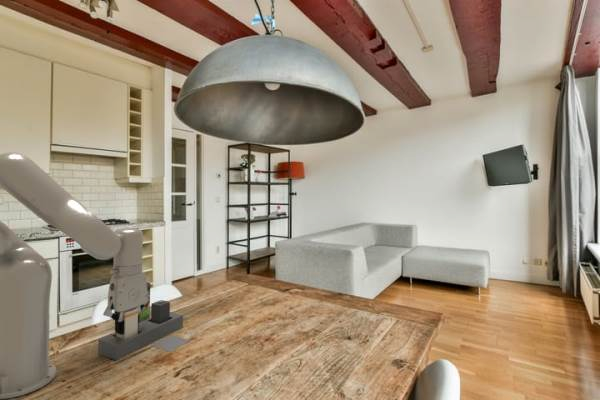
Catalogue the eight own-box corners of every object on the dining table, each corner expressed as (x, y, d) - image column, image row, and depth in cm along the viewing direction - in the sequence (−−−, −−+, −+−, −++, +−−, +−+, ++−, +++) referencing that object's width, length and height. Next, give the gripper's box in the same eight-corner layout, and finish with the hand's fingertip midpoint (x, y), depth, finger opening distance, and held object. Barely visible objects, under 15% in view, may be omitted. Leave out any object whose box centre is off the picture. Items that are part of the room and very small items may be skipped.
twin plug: (159, 329, 99) (160, 303, 99) (151, 327, 101) (151, 301, 101) (169, 325, 103) (169, 300, 103) (160, 322, 104) (161, 298, 104)
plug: (125, 340, 88) (125, 310, 88) (115, 336, 90) (116, 308, 90) (137, 334, 92) (138, 306, 92) (128, 331, 93) (129, 303, 93)
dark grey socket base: (116, 361, 84) (116, 345, 84) (98, 354, 87) (98, 339, 87) (182, 327, 106) (182, 315, 106) (166, 323, 109) (166, 311, 109)
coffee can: (156, 320, 111) (157, 282, 111) (135, 332, 101) (136, 291, 101) (132, 317, 113) (132, 280, 113) (109, 329, 103) (110, 288, 103)
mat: (170, 353, 89) (170, 351, 89) (151, 346, 92) (151, 345, 92) (190, 341, 96) (190, 340, 96) (172, 336, 100) (172, 334, 99)
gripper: (108, 278, 81) (107, 345, 82) (160, 265, 96) (159, 322, 97) (91, 274, 84) (90, 339, 85) (144, 262, 100) (143, 317, 100)
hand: (127, 329), depth 91 cm, fingers closed on plug, 3 cm apart
